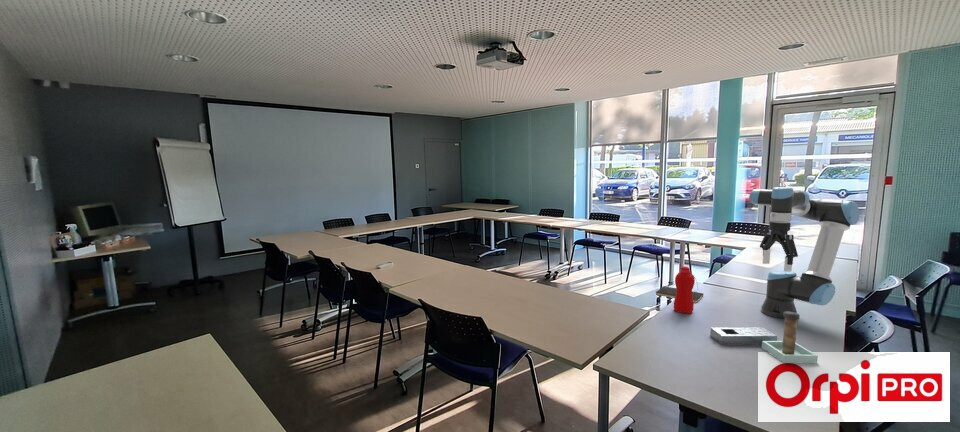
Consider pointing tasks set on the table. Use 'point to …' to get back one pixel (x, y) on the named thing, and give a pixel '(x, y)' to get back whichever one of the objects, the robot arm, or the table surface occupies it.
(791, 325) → the pin
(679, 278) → the water bottle
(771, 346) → the tray
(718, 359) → the table surface
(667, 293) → the hardcover book
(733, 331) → the block
